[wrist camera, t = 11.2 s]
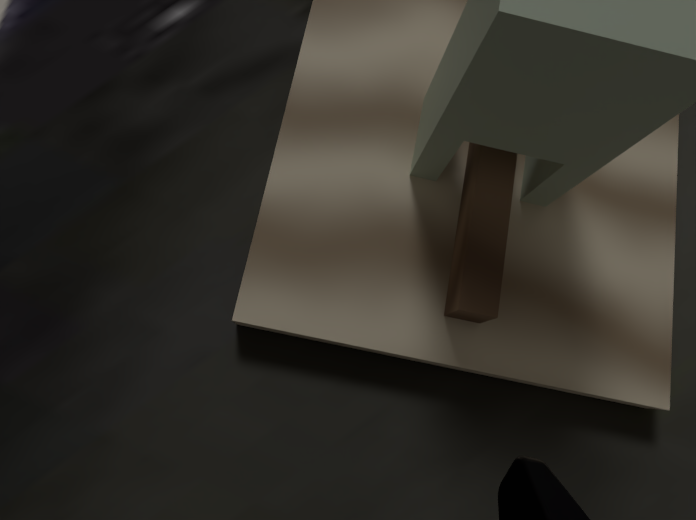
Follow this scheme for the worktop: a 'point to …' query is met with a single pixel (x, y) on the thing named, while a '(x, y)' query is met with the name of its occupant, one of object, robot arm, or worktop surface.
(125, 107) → the worktop surface
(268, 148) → the worktop surface
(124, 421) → the worktop surface
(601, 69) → the grey-green notched block
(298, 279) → the cleat board
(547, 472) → the robot arm
